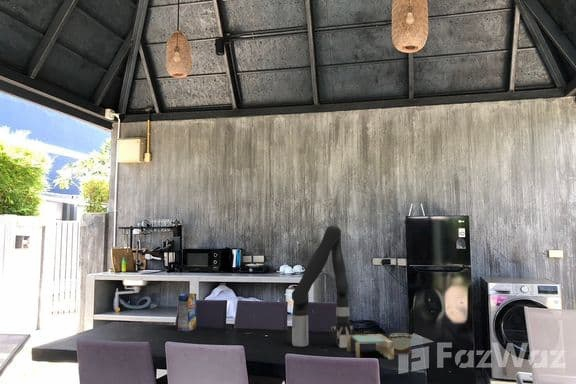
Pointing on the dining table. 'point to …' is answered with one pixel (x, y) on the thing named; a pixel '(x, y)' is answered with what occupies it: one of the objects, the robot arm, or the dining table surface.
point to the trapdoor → (368, 339)
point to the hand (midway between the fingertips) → (343, 344)
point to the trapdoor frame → (383, 348)
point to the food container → (401, 342)
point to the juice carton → (187, 312)
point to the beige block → (342, 341)
